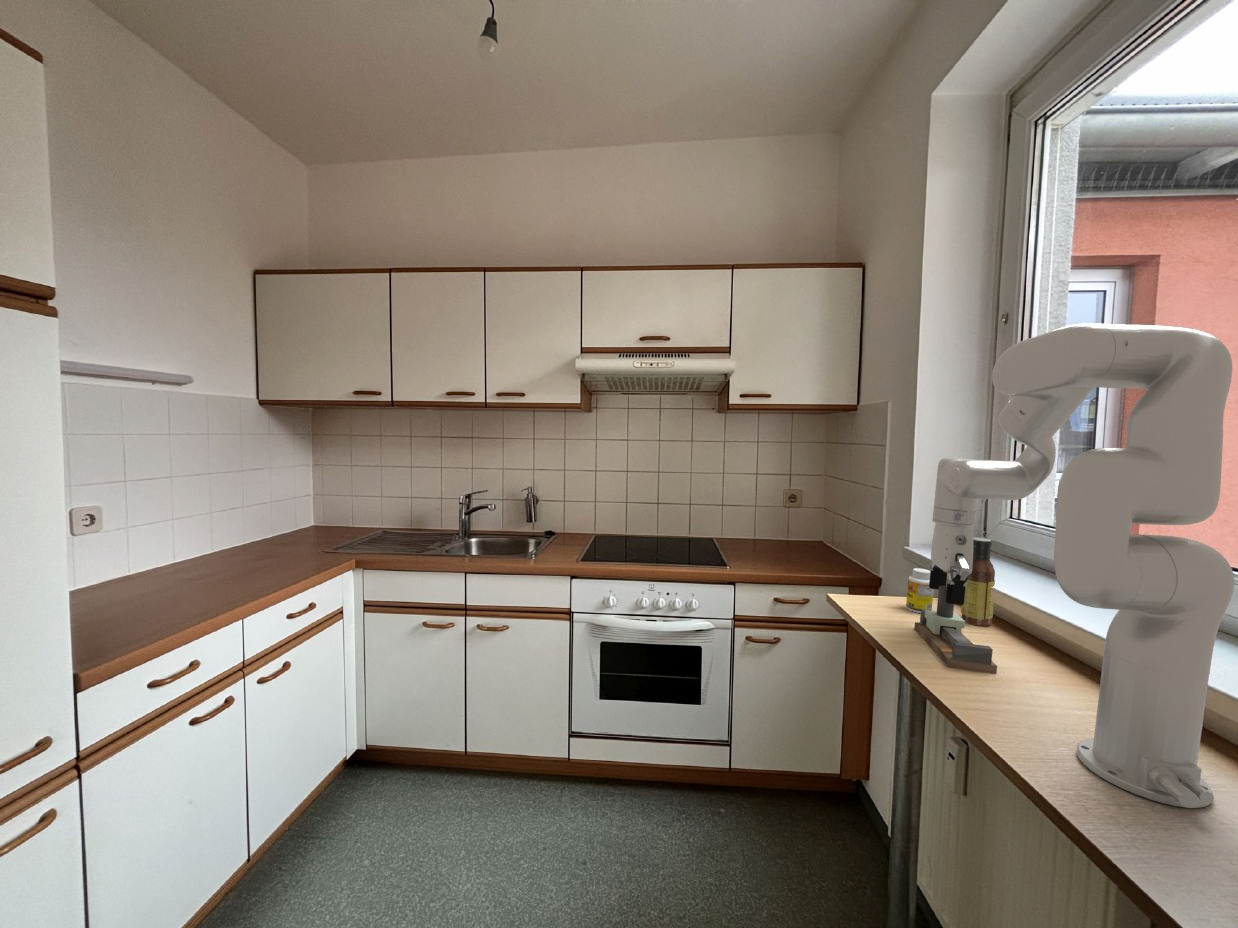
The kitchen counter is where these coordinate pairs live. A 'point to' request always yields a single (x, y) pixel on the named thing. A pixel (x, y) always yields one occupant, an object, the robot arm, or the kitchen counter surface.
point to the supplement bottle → (919, 591)
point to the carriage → (943, 615)
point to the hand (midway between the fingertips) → (945, 596)
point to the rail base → (956, 648)
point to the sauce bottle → (979, 586)
